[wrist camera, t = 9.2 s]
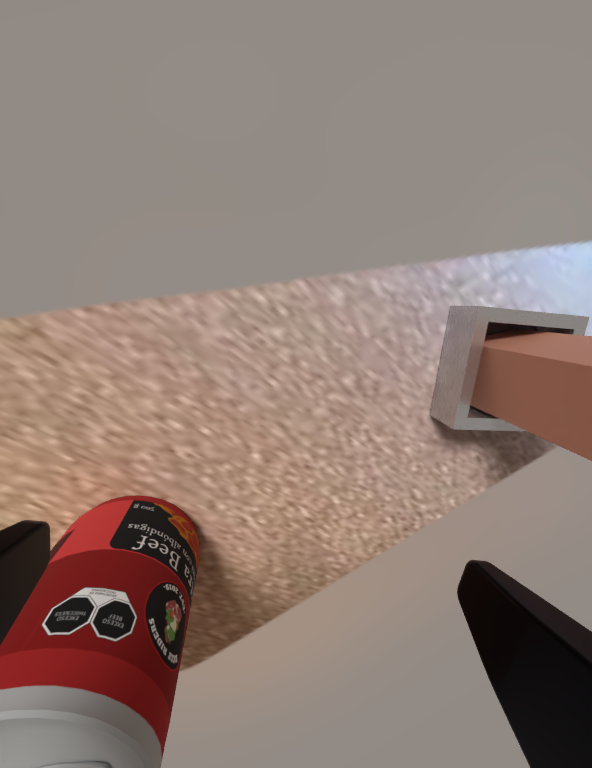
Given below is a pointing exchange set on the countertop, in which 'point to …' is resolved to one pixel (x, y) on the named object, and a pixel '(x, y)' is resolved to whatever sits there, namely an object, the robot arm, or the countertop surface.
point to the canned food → (101, 641)
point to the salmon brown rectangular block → (539, 385)
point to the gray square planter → (465, 356)
